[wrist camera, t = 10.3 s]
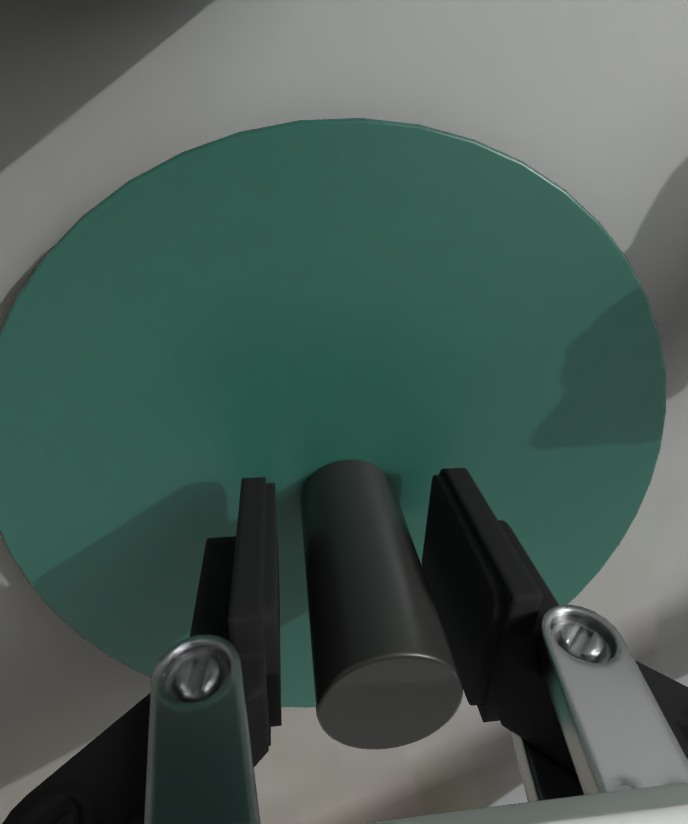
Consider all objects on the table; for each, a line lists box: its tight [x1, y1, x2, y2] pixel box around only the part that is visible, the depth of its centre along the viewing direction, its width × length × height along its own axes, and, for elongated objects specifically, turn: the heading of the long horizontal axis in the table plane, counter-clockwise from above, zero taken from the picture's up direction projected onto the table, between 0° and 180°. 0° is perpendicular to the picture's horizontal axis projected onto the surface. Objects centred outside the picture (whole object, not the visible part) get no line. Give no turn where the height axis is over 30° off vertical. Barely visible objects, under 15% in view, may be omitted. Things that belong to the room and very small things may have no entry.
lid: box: [0, 118, 666, 749], centre depth 11 cm, size 17×17×7 cm
